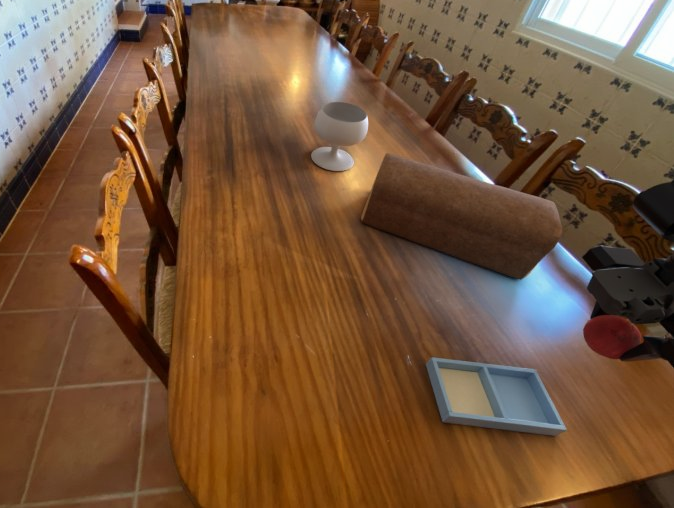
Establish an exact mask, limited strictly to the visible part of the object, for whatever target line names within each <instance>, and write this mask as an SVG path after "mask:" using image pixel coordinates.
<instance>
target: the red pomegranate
mask: <svg viewBox="0 0 674 508" xmlns="http://www.w3.org/2000/svg"><path fill="white" fill-rule="evenodd" d="M582 334H583V338H584V341H585V343H586V344H587V346H588V348H589V349H591V351H593V352H594V353H596V354H597V355H599V356H602V357H604V358H607V359H611V360H620V359H619V358H620V357H621V356H622V355H623V354H624V353H625V352H627V351H629V350H631V349H632V348H634V347H636V346H638V345H639V344H641V343H642V334H641V332H640V330H639V328H638V327H637V326H636V324H633V323H631V322H630V321H629V319H628V318H626V317H622V316H619V315H617V316H615V315H601V316H597V317H594V318H592V319H590V318H589V319H588V320H587V321H586V322H585V324H584V326H583V328H582Z"/></svg>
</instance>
